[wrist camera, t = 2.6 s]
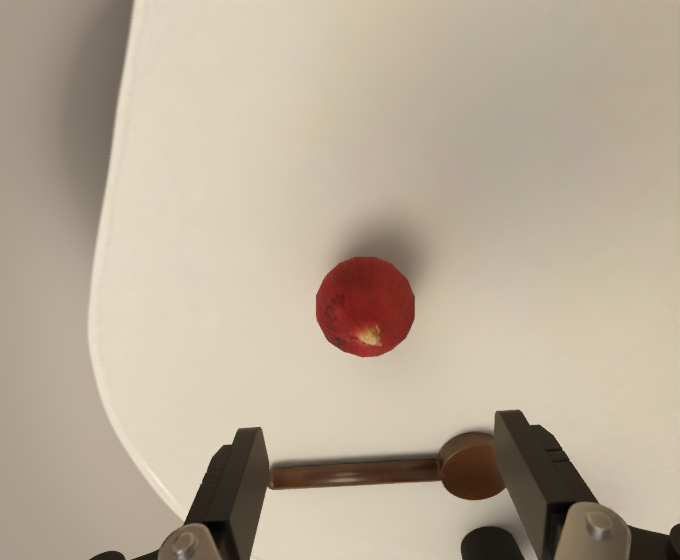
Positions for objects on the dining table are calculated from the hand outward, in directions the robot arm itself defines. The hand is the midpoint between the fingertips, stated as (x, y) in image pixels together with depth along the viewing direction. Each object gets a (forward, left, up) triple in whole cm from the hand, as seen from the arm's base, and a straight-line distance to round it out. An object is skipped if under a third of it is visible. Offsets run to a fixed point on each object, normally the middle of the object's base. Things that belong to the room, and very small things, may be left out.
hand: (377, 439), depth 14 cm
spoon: (+16, 0, -14) cm, 21 cm away
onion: (0, 0, -15) cm, 15 cm away
